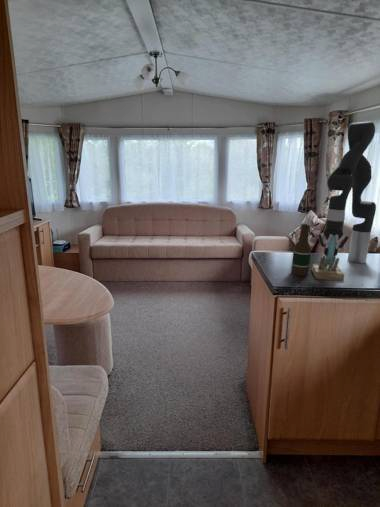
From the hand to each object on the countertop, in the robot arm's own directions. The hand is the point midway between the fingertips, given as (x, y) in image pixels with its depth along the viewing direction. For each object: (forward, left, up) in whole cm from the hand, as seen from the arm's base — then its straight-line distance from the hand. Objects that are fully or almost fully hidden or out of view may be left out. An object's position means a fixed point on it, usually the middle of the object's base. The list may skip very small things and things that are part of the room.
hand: (330, 255), depth 159 cm
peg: (0, 0, -4) cm, 4 cm away
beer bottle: (+1, -13, -10) cm, 16 cm away
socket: (-1, 0, -10) cm, 10 cm away
